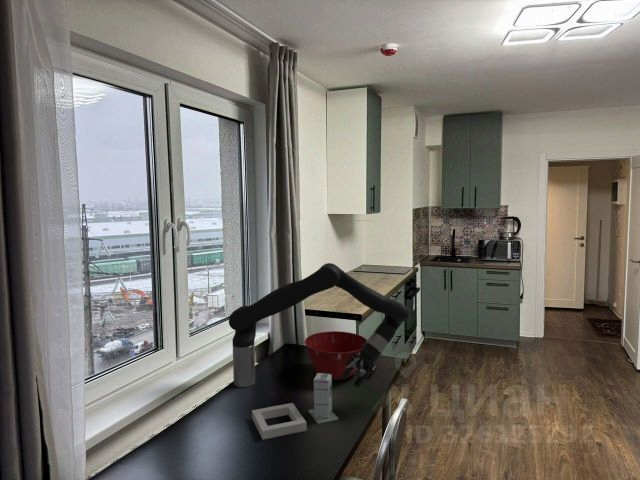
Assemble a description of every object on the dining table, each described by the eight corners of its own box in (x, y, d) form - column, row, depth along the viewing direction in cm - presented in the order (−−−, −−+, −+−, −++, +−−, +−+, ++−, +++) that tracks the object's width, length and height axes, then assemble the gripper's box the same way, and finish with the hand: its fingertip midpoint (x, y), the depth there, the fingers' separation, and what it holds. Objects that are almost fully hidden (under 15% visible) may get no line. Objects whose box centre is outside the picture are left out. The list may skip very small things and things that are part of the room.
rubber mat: (308, 411, 169) (308, 410, 169) (328, 407, 172) (328, 406, 172) (317, 423, 160) (317, 422, 160) (338, 419, 163) (338, 418, 163)
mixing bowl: (378, 369, 208) (378, 337, 207) (348, 393, 184) (348, 356, 183) (326, 358, 223) (326, 327, 222) (292, 378, 200) (292, 344, 198)
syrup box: (329, 418, 163) (329, 379, 161) (313, 417, 164) (313, 378, 162) (332, 411, 168) (332, 373, 167) (316, 409, 170) (316, 372, 168)
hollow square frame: (252, 418, 164) (251, 410, 164) (292, 410, 170) (292, 402, 170) (262, 439, 150) (262, 431, 150) (306, 430, 156) (306, 422, 155)
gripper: (358, 336, 179) (333, 370, 175) (379, 347, 166) (353, 383, 162) (369, 347, 182) (345, 380, 178) (391, 358, 169) (365, 394, 165)
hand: (349, 382), depth 170 cm, fingers open, 8 cm apart
